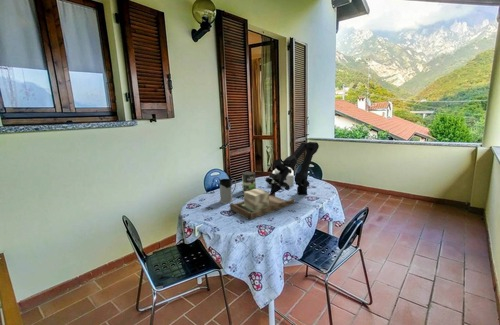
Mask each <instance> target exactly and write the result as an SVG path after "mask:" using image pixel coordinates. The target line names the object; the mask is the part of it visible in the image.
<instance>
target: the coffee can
mask: <svg viewBox="0 0 500 325" xmlns="http://www.w3.org/2000/svg"><path fill="white" fill-rule="evenodd" d="M241 175H242V176H241V179H242V192H243V193H244V192H245V191H249V190H253V189H256V188H257V186H256V185H257V184H256V172H255V171H244V172H241Z"/></svg>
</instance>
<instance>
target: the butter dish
mask: <svg viewBox="0 0 500 325" xmlns="http://www.w3.org/2000/svg"><path fill="white" fill-rule="evenodd" d="M288 168H289V169H291V171H292V173H288V175H287V177H286V180H284V182H285V183H287V184H288V185H289V186H290V187H294V183H295V178H294V177H295V175H294V170H293V168H290V167H288ZM279 172H280V171H278V170H277V169H276V168H275V169H274V170H272V173H273V174H277V173H279ZM271 179H272V180H273V178H271ZM273 181H274V180H273Z"/></svg>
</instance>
